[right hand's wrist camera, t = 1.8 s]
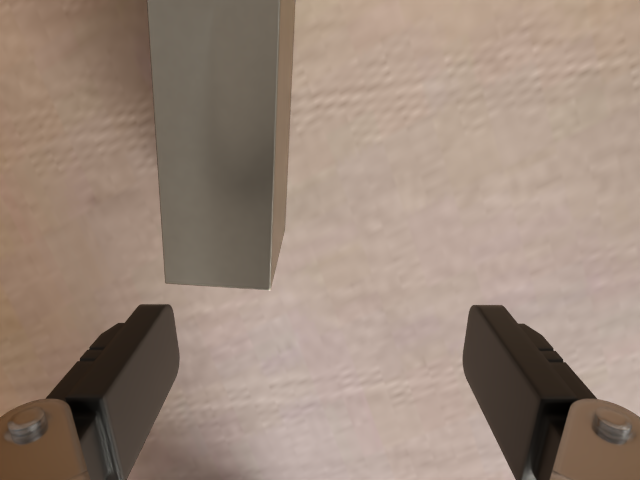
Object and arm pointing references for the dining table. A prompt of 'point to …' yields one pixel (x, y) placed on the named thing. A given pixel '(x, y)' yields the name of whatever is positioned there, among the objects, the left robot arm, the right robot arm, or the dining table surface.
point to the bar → (222, 136)
